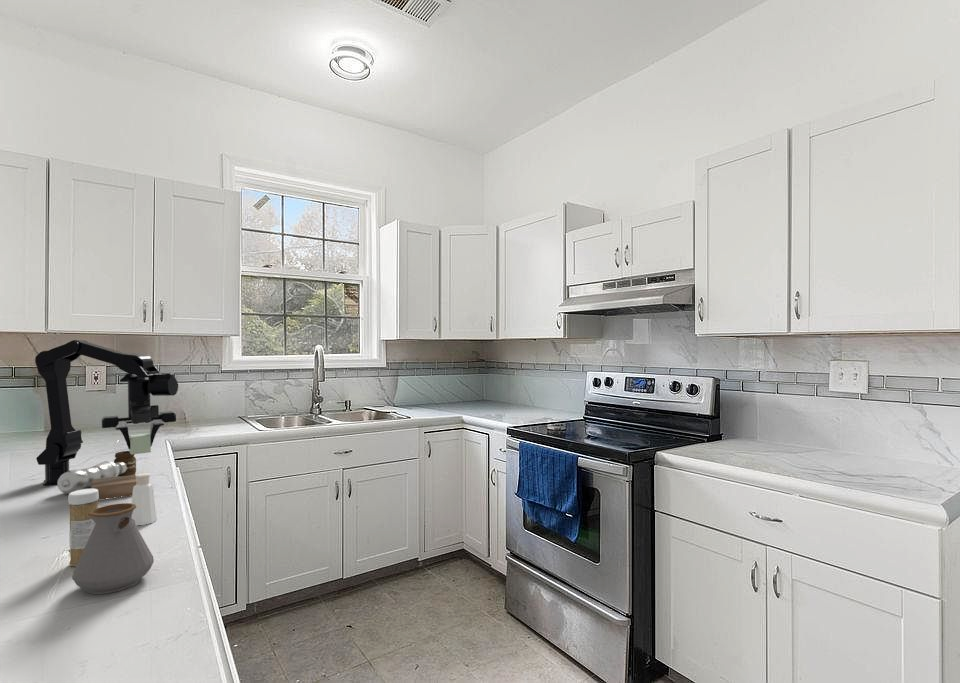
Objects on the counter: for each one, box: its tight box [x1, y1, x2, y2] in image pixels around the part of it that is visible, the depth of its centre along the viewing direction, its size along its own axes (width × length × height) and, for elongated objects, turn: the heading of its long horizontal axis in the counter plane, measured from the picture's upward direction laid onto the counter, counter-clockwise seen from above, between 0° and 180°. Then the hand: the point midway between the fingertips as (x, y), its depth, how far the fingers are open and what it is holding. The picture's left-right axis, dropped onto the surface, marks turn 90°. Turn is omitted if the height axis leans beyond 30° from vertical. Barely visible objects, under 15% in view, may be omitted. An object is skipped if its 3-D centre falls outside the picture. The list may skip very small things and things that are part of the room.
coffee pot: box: [72, 502, 155, 595], centre depth 87 cm, size 21×12×15 cm, turn 40°
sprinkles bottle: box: [67, 488, 99, 567], centre depth 100 cm, size 5×5×14 cm
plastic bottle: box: [56, 460, 127, 495], centre depth 155 cm, size 6×7×20 cm
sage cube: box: [129, 433, 152, 455], centre depth 161 cm, size 5×5×5 cm
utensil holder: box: [113, 440, 137, 477], centre depth 169 cm, size 6×6×12 cm
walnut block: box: [90, 474, 137, 500], centre depth 147 cm, size 10×10×4 cm
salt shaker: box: [131, 472, 158, 527], centre depth 123 cm, size 5×5×11 cm
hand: (140, 447), depth 161 cm, fingers closed on sage cube, 5 cm apart
